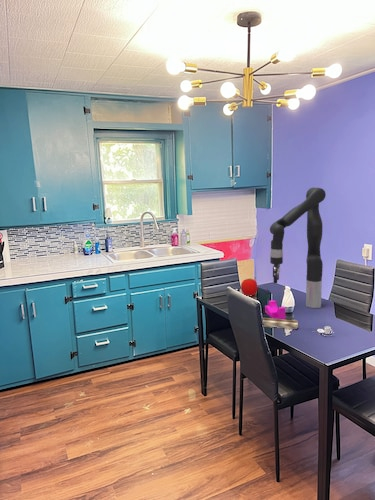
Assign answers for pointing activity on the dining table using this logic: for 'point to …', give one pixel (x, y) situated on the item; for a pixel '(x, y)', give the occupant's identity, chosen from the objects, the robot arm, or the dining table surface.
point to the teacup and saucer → (325, 330)
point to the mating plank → (280, 323)
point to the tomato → (249, 287)
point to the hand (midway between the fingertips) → (276, 281)
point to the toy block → (275, 310)
